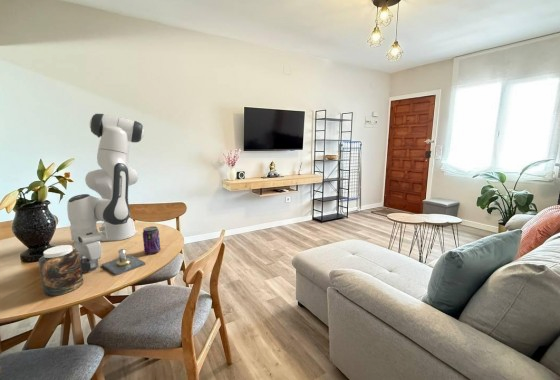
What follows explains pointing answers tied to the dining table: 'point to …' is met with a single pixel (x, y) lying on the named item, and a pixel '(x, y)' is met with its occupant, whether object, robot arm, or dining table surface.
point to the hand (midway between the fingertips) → (89, 264)
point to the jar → (60, 270)
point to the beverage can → (151, 240)
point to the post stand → (123, 263)
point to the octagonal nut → (87, 265)
